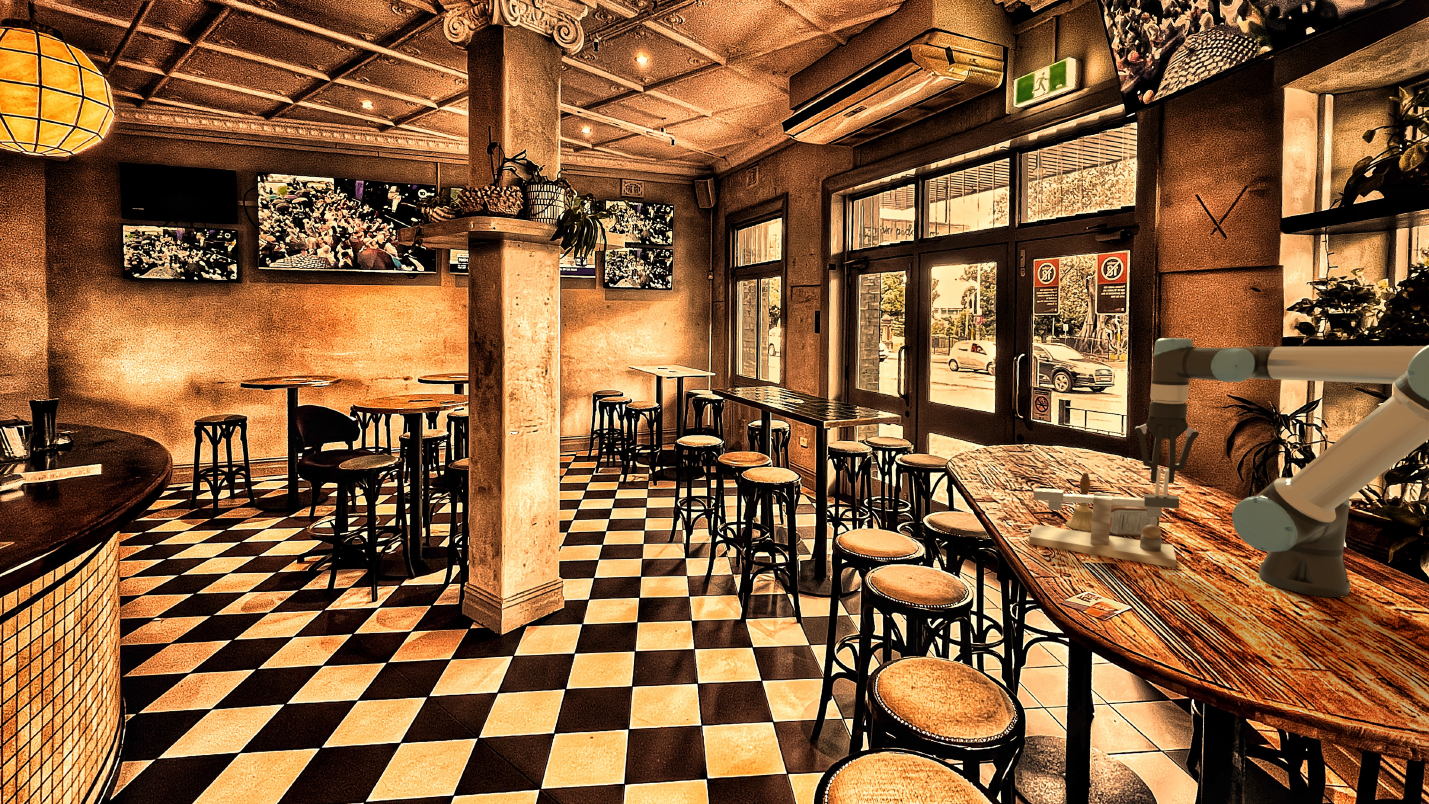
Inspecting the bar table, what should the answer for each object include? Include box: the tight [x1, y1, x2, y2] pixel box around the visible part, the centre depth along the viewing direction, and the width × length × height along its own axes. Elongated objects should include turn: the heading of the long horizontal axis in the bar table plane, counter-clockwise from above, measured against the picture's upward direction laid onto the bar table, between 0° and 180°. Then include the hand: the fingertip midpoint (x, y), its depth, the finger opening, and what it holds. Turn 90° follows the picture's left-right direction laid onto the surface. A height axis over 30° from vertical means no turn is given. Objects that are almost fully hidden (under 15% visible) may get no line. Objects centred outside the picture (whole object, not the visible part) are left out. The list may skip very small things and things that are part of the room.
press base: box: [1028, 492, 1177, 569], centre depth 166 cm, size 32×12×14 cm, turn 58°
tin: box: [1109, 505, 1160, 537], centre depth 177 cm, size 15×3×8 cm, turn 84°
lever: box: [1033, 487, 1180, 518], centre depth 166 cm, size 32×4×5 cm, turn 58°
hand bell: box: [1065, 472, 1093, 532], centre depth 184 cm, size 8×8×16 cm
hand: (1160, 494), depth 159 cm, fingers closed
